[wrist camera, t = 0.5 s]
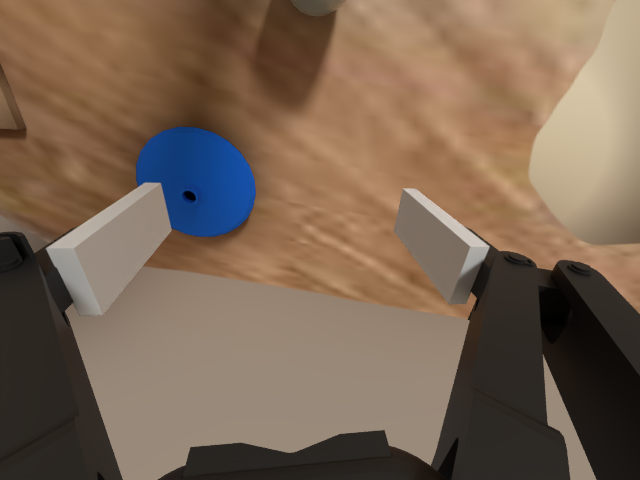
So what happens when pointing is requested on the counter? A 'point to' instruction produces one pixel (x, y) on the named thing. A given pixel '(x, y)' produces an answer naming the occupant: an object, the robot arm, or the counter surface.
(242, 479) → the robot arm
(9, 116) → the board
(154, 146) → the blue funnel
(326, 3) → the cup
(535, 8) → the counter surface
